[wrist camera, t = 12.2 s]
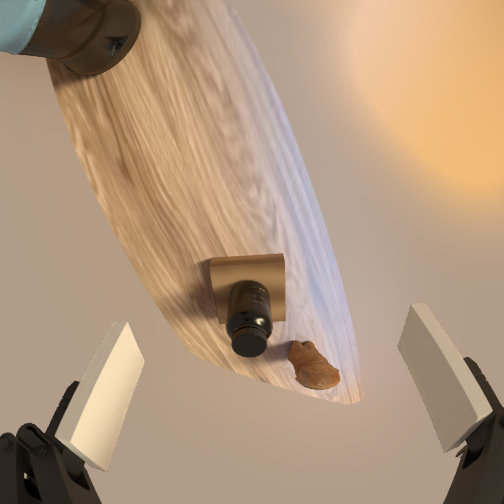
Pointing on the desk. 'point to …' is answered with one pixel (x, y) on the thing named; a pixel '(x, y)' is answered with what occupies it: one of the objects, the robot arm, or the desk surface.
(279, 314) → the pedestal
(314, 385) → the figurine
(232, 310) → the supplement bottle
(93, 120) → the desk surface
